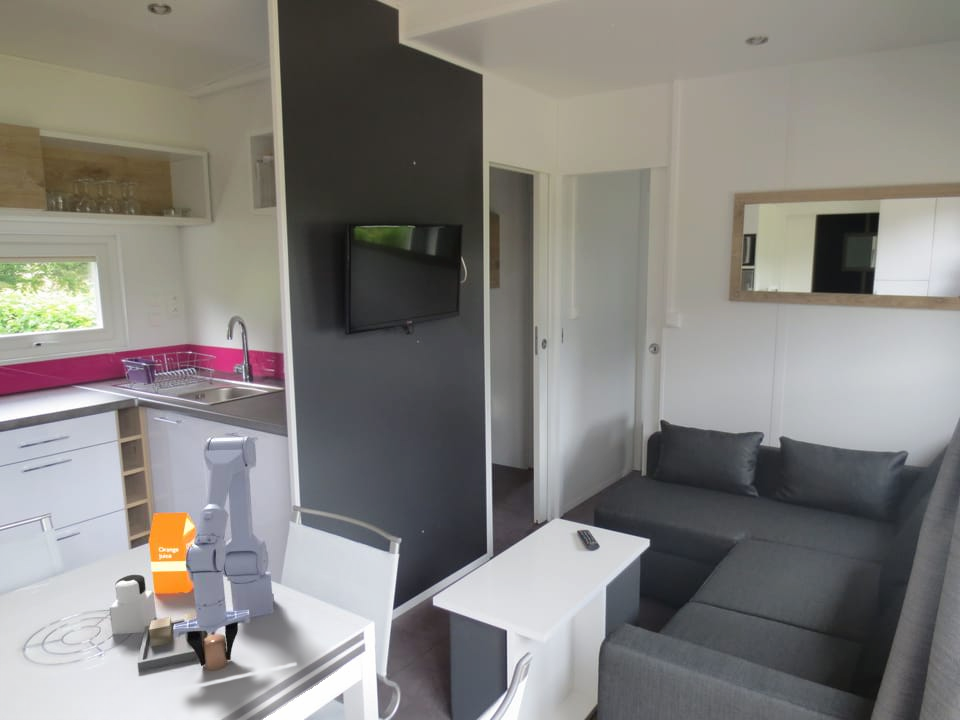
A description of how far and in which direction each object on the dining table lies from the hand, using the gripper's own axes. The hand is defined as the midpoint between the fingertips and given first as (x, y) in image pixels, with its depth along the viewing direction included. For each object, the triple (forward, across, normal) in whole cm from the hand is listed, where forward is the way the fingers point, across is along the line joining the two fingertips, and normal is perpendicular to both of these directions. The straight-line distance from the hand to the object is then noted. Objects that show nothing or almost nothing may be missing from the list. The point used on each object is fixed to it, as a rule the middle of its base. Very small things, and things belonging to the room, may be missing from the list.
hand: (216, 660), depth 141 cm
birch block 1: (+1, -12, +14) cm, 19 cm away
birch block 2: (+1, -4, +14) cm, 15 cm away
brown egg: (+1, 0, 0) cm, 1 cm away
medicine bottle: (+2, -18, +24) cm, 30 cm away
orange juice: (+2, -10, +42) cm, 43 cm away
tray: (+1, -8, +11) cm, 14 cm away
